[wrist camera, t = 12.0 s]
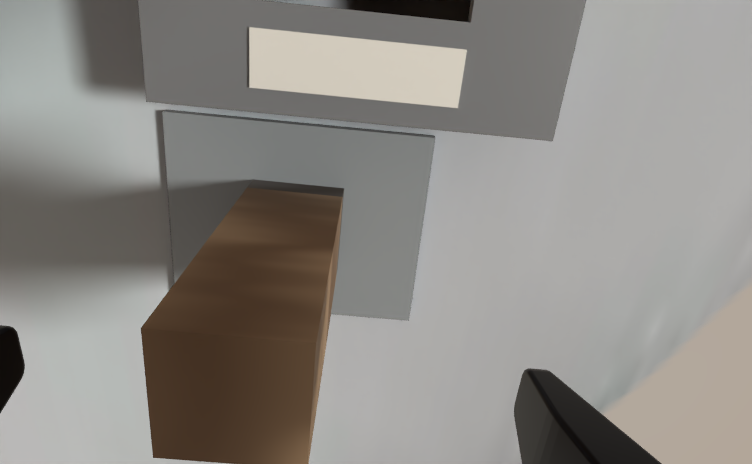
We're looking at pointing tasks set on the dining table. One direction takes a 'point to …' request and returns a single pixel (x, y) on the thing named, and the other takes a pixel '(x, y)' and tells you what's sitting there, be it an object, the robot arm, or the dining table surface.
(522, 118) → the box
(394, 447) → the dining table surface
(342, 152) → the slate mat
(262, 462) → the long wooden beam
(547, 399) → the robot arm
